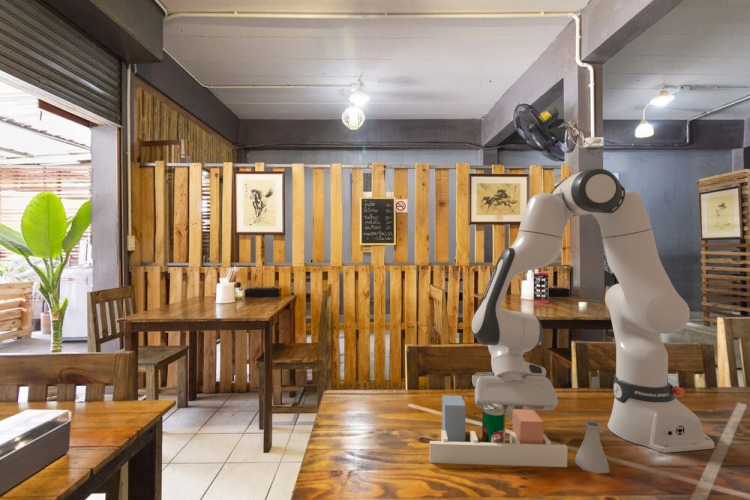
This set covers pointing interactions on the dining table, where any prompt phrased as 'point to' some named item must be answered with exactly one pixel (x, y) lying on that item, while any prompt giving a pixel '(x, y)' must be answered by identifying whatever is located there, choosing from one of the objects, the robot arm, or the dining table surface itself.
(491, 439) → the soda can
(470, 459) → the tray
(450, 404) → the slate blue upright block
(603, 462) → the flask
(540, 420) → the salmon pink brick
